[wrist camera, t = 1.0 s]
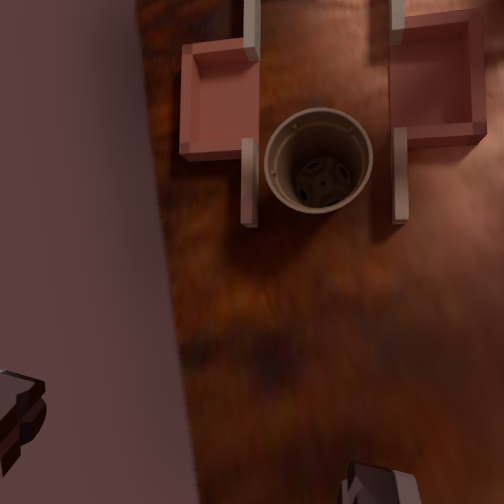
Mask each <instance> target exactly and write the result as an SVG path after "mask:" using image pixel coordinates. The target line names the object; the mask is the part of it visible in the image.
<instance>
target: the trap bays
mask: <svg viewBox="0 0 504 504" xmlns="http://www.w3.org/2000/svg"><path fill="white" fill-rule="evenodd" d="M404 23H405V29H404V34H403V38H402V43H401V45H395V46H389V78H390V132H391V136H392V132H393V129H394V128H398V127H407V149H416V148H433V147H449V146H466V145H478V144H479V142H480V141H481V140H482V139H483V138H484V137H485V136H486V135H487V119H486V93H485V68H484V43H483V18H482V7H481V8H473V9H465V10H457V11H449V12H441V13H433V14H425V15H417V16H409V17H404ZM243 43H244V38H243V37H242V38H235V39H227V40H219V41H211V42H203V43H195V44H187V45H182V74H181V109H180V144H179V154H180V155H181V156H183V157H184V158H185V159H186V160H188V161H189V162H197V161H214V160H231V159H242V138H253V139H254V140H255V142H256V143H257V145H258V147H259V94H260V61H253V62H249V60H248V57H247V55H246V53H245V50H244V48H243Z"/></svg>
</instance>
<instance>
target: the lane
mask: <svg viewBox="0 0 504 504" xmlns="http://www.w3.org/2000/svg"><path fill="white" fill-rule="evenodd" d="M258 185H259V147H258V145H257V143H256V142H255V140H254V139H253V138H242V164H241V224H243V225H244V226H246V227H247V228H249V227H258ZM391 187H392V224H405V223H406V222H407V221H408V220H409V205H408V160H407V127H398V128H394V129H393V132H392V136H391Z"/></svg>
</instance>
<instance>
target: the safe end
mask: <svg viewBox="0 0 504 504" xmlns="http://www.w3.org/2000/svg"><path fill="white" fill-rule="evenodd" d="M388 10H389V46H395V45H401V43H402V38H403V34H404V29H405V23H404V17H405V11H404V0H388ZM260 21H261V0H244V43H243V48H244V50H245V53H246V55H247V57H248V60H249V62H253V61H260Z"/></svg>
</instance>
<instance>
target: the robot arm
mask: <svg viewBox="0 0 504 504" xmlns="http://www.w3.org/2000/svg"><path fill="white" fill-rule="evenodd" d="M45 391H46V390H45V382H44V381H41V380H39V379H35V378H32V377H28V376H25V375H21V374H18V373H14V372H11V371H8V370H3V369H0V478H3V477H4V476H5V475H6V473H7V472H8V471H9V470H10V468H11V467H12V466H13V464H14V463H15V462H16V460H17V459H18V458H19V457H20V456H21V446H22V445H24V444H26V443H28V442H30V441H32V440H33V439H34V438H35V436H36V435H37V434H38V432H39V431H40V429H41V427H42V425H43V422H44V420H45V416H46V403H45V402H44V400H43V399H42V398H41V396H42V395H43V394H44V393H45ZM336 504H421V500H420V496H419V491H418V487H417V483H416V479H415V477H414V476H413V475H411V474H407V473H403V472H399V471H395V470H391V469H388V468H384V467H380V466H376V465H372V464H368V463H364V462H360V461H356V460H351V461H350V463H349V465H348V467H347V479H346V480H344V481H342V483H341V485H340V488H339V491H338V497H337V502H336Z"/></svg>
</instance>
